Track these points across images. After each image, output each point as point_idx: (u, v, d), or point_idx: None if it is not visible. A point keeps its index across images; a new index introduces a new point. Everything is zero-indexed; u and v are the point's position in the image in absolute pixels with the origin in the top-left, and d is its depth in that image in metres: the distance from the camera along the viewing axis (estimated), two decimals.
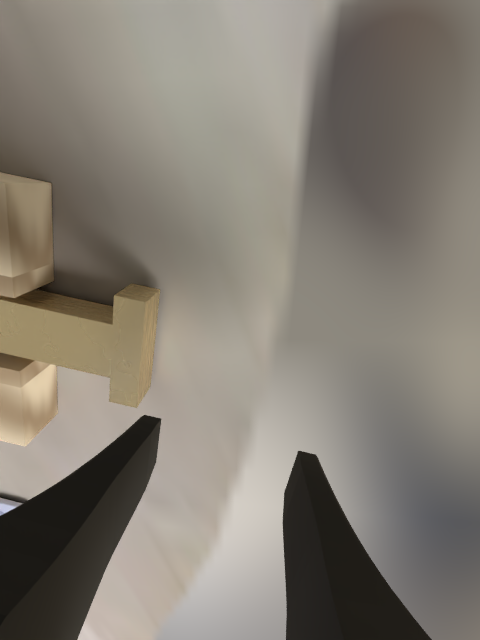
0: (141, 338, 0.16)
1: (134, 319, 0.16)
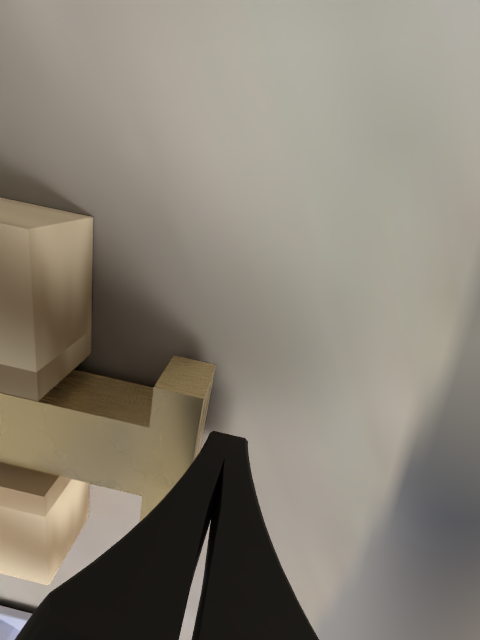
0: (193, 447, 0.11)
1: (184, 421, 0.10)
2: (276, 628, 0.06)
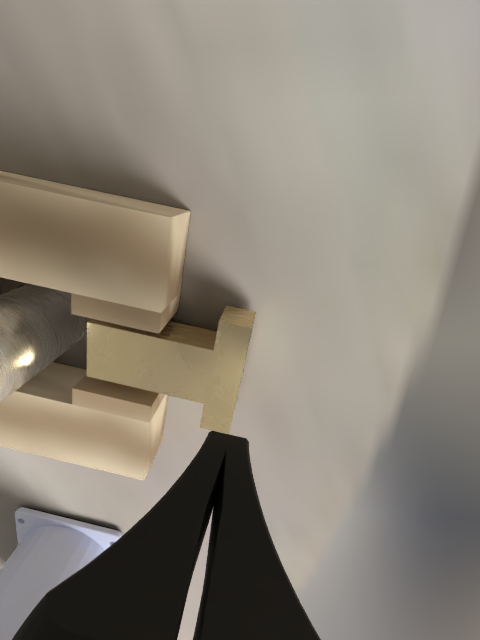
0: (243, 364, 0.16)
1: (238, 345, 0.15)
2: (278, 629, 0.06)
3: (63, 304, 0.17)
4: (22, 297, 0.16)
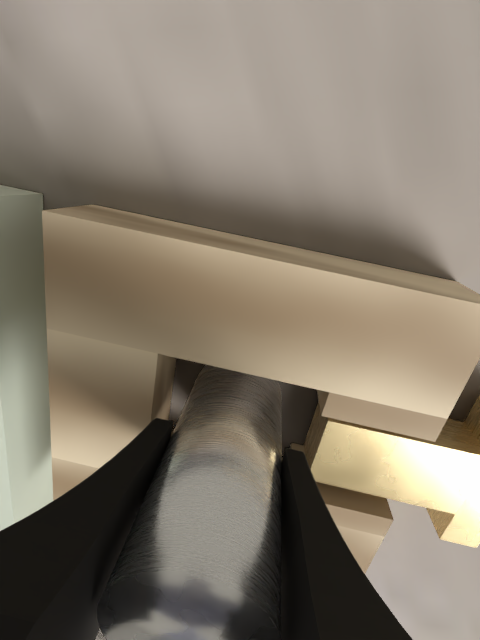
0: None
1: None
2: None
3: (274, 389, 0.14)
4: (247, 390, 0.13)
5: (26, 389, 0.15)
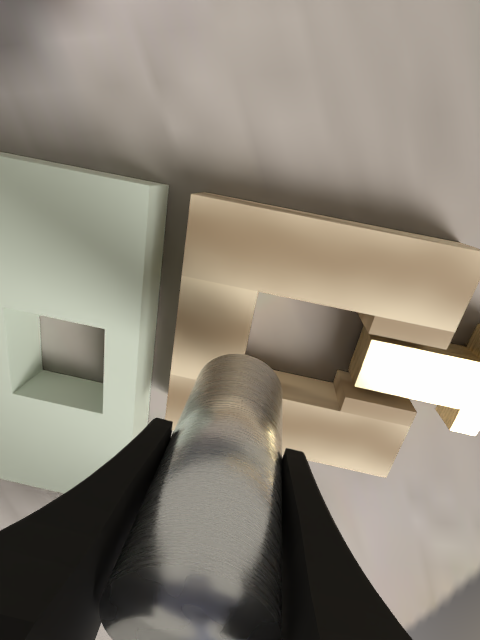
0: None
1: None
2: None
3: (275, 388, 0.14)
4: (248, 389, 0.13)
5: (148, 327, 0.21)
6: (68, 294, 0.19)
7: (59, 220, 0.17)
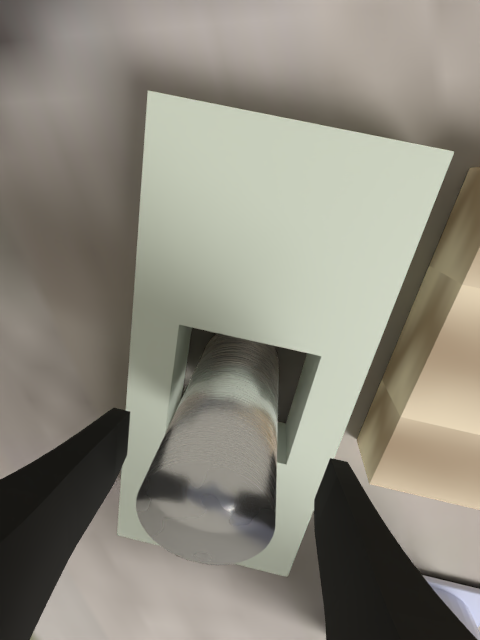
0: None
1: None
2: None
3: (273, 357, 0.16)
4: (251, 354, 0.15)
5: None
6: (280, 308, 0.13)
7: (294, 204, 0.12)
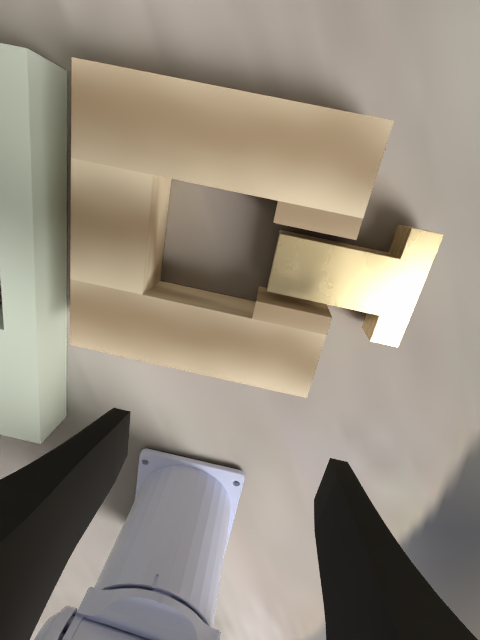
0: (427, 272, 0.17)
1: (425, 253, 0.16)
2: None
3: None
4: None
5: (50, 232, 0.19)
6: None
7: None
